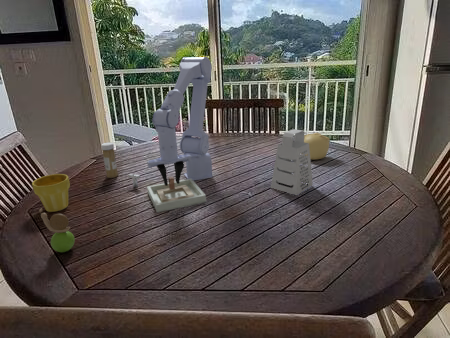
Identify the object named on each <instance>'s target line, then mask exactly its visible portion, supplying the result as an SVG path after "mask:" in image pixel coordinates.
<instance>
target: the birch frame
mask: <svg viewBox="0 0 450 338" xmlns="http://www.w3.org/2000/svg"><path fill="white" fill-rule="evenodd" d="M167 179H168V183H169V188H166V189H161V190H157V194H158V196H159V198H160V200H161V202H162V203H163V202H168V201H173V200H178V199H183V198H188V197H193V196H194V194H193V193H192V192H191V190H190V189H189V188H188V187H187V185H182V186H177V187H175V184H174V182H175V177H174V176H168V177H167ZM181 190H183V191H184V192H185V194H186V196H181V197H176V198H171V199H167V198H166V196H165V193H170V192H176V191H181Z"/></svg>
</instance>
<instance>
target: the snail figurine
mask: <svg viewBox="0 0 450 338" xmlns="http://www.w3.org/2000/svg"><path fill="white" fill-rule="evenodd" d="M38 212H39V213H40V217H41V219H42V221H43V223H44V225H45V227H46V228H47V229H48V230H49V231H51V232H53V233H54V234H53V235H52V236H51V238H50V245H51V248H52V249H53V250H54V251H56V252H57V253H65V252H69V251H70V250H71V249H72V248H73V247H74V244H75V235H74V233H72V232H71V231H69V230H70V229H71V226H69V223H70V221H69V218H68V217H67V216H66V215H65V214H63V213H54V214H53V215H51V217H50V219H49V218H48V213H46V212H43V208H39V210H38Z"/></svg>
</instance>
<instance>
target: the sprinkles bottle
mask: <svg viewBox="0 0 450 338" xmlns="http://www.w3.org/2000/svg"><path fill="white" fill-rule="evenodd" d="M114 145H115V144H114V143H113V142H109V141H108V142H104V143H101V145H100V146H101V151H102V156H103V163H104V168H105V173H106V177H107V178H109V179H113V178H116V177H118V176H119V173H118V172H119V171H118V166H117V161H116V154H115V149H114V148H115V146H114Z"/></svg>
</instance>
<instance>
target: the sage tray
mask: <svg viewBox="0 0 450 338" xmlns="http://www.w3.org/2000/svg"><path fill="white" fill-rule="evenodd" d="M167 183H168V186H165V184H164V183H158V184H153V185H148V186H147V185H146V186H147V187H146V189H147V191H146V192H147V194H148V197H149V198H150V201H151V203H152V205H153V208H154V209H155V211H156V213H162V212H166V211H171V210H176V209H181V208H186V207H191V206H195V205H200V204H205V203H207V195H206V194H205V192H204V191H203V190H202V189H201V188H200V187H199V185H197V183H196V182H195V181H193V180H192V179H187V178H186V179H180V181H179V184H177V182H176V180H174V184H175V187H177V186H182V185H187V187H188V188H189V189H190V190H191V192H192V193H193V194H194V196H193V197H188V198H183V199H178V200H173V201H168V202H163V203H162V202H161V200H160V198H159V196H158V194H157V190H161V189H166V188H169V182H167ZM165 196H166V198H167V199H171V198H176V197H181V196H186V194H185V192H184V191H183V190H181V191H176V192H170V193H165Z"/></svg>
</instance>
